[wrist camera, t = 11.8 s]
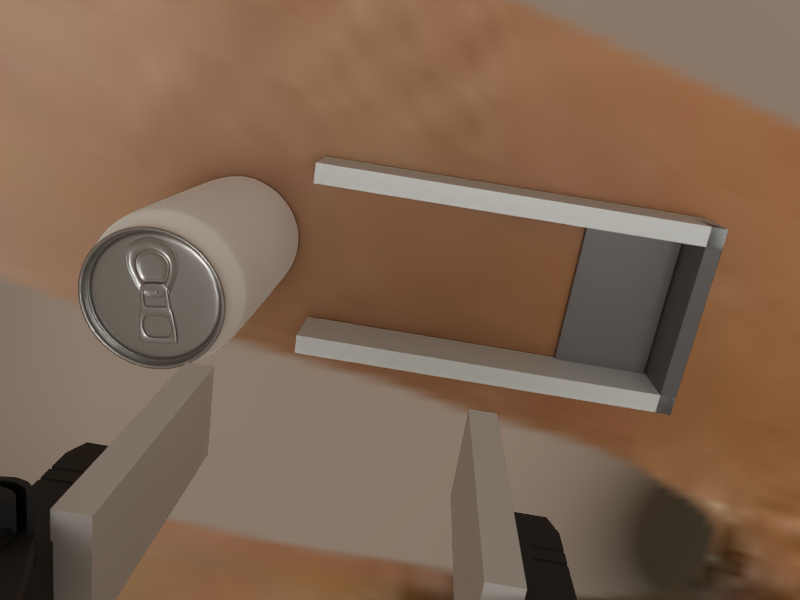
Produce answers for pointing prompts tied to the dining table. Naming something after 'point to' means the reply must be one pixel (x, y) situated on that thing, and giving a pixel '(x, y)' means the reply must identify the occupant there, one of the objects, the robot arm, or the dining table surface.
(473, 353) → the grey flat u-shaped frame
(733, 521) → the dining table surface
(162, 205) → the can
